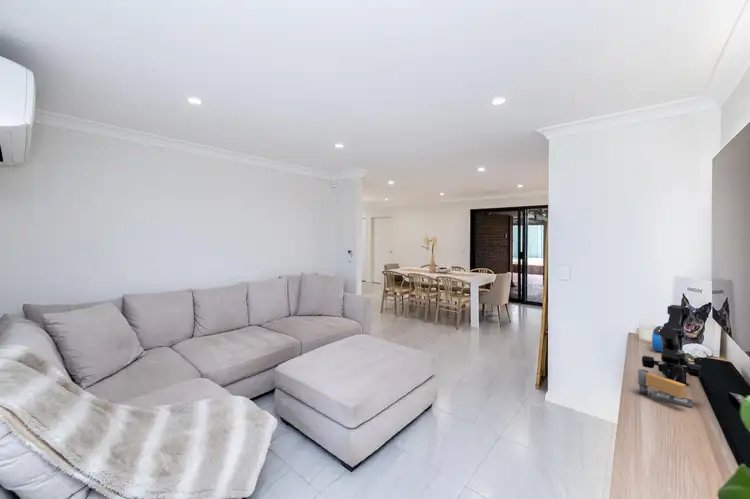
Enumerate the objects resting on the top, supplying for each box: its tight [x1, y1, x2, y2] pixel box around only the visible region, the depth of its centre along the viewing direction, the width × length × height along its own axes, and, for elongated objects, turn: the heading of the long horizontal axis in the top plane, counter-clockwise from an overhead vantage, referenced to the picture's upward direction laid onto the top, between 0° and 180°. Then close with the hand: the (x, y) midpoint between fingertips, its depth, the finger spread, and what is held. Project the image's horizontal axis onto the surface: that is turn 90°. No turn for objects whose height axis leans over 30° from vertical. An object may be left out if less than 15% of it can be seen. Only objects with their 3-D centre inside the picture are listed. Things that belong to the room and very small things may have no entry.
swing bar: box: [637, 368, 687, 398], centre depth 137 cm, size 17×4×6 cm, turn 16°
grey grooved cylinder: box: [638, 384, 649, 396], centre depth 144 cm, size 3×3×4 cm
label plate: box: [651, 390, 694, 409], centre depth 137 cm, size 12×7×1 cm, turn 46°
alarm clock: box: [651, 325, 663, 353], centre depth 199 cm, size 13×6×15 cm, turn 131°
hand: (670, 384), depth 135 cm, fingers closed
